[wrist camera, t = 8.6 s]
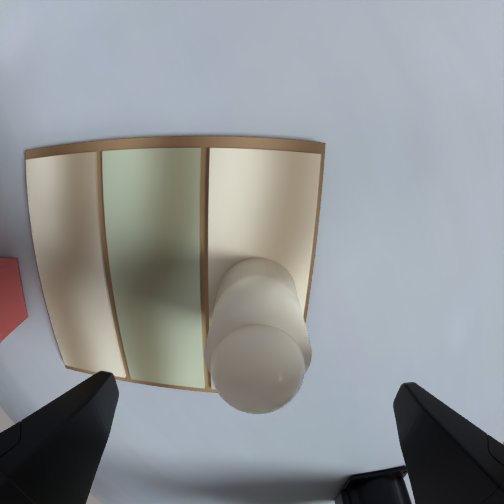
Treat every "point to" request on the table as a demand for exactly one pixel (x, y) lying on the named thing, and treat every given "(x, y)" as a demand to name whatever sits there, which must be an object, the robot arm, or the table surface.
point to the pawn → (257, 337)
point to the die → (10, 297)
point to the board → (163, 242)
